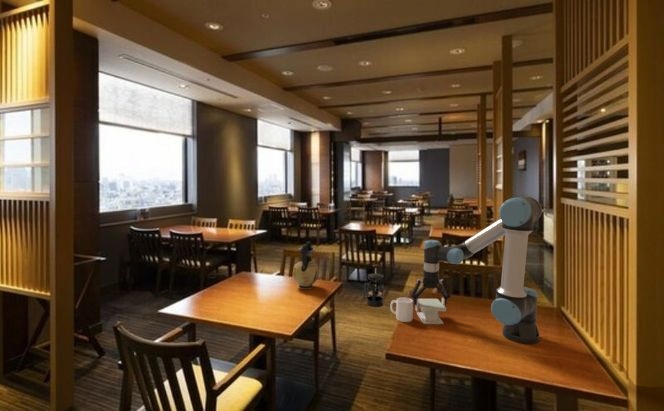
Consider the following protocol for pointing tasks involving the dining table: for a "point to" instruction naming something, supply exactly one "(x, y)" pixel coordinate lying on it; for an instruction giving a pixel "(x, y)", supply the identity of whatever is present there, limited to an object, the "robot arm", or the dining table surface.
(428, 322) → the white butter dish
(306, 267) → the amphora
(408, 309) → the cup
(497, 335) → the dining table surface
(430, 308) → the white flat slab
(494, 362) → the dining table surface
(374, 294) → the french press
